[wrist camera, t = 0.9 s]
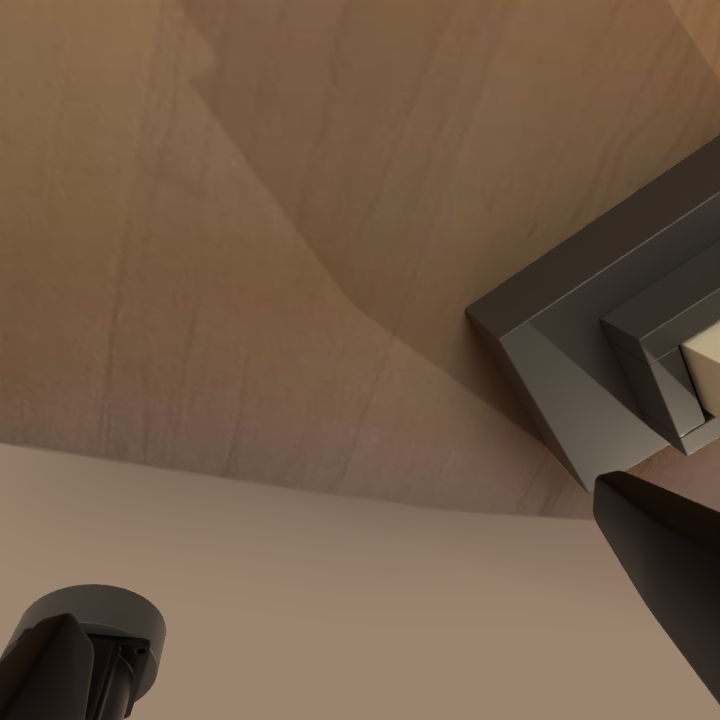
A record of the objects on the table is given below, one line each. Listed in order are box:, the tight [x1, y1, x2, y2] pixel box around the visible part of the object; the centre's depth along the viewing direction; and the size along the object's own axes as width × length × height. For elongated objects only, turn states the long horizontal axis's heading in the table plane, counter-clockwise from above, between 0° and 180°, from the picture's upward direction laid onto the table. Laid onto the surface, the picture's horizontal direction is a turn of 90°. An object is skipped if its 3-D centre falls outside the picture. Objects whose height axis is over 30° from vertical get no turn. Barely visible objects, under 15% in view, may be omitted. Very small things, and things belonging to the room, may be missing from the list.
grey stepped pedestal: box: [465, 135, 720, 493], centre depth 20 cm, size 14×10×6 cm
